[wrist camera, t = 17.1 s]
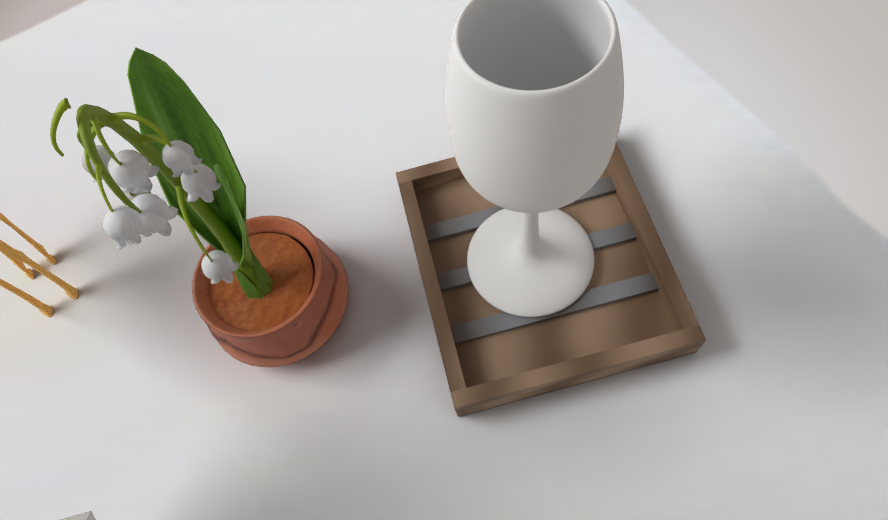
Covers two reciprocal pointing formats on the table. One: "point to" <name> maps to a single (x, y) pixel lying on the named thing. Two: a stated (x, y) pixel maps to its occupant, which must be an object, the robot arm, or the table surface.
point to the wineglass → (533, 139)
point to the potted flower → (212, 221)
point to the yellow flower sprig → (20, 257)
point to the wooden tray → (559, 334)
